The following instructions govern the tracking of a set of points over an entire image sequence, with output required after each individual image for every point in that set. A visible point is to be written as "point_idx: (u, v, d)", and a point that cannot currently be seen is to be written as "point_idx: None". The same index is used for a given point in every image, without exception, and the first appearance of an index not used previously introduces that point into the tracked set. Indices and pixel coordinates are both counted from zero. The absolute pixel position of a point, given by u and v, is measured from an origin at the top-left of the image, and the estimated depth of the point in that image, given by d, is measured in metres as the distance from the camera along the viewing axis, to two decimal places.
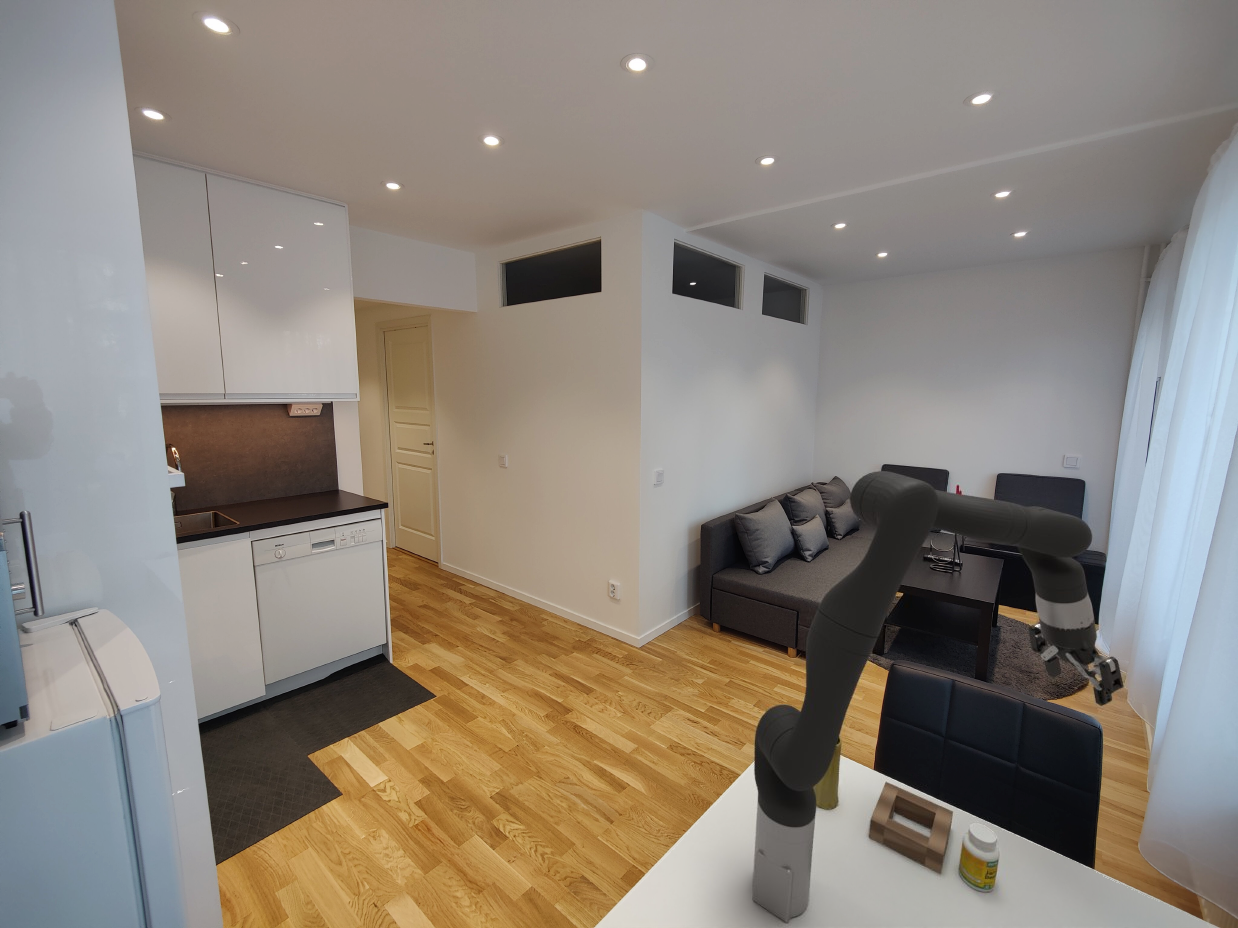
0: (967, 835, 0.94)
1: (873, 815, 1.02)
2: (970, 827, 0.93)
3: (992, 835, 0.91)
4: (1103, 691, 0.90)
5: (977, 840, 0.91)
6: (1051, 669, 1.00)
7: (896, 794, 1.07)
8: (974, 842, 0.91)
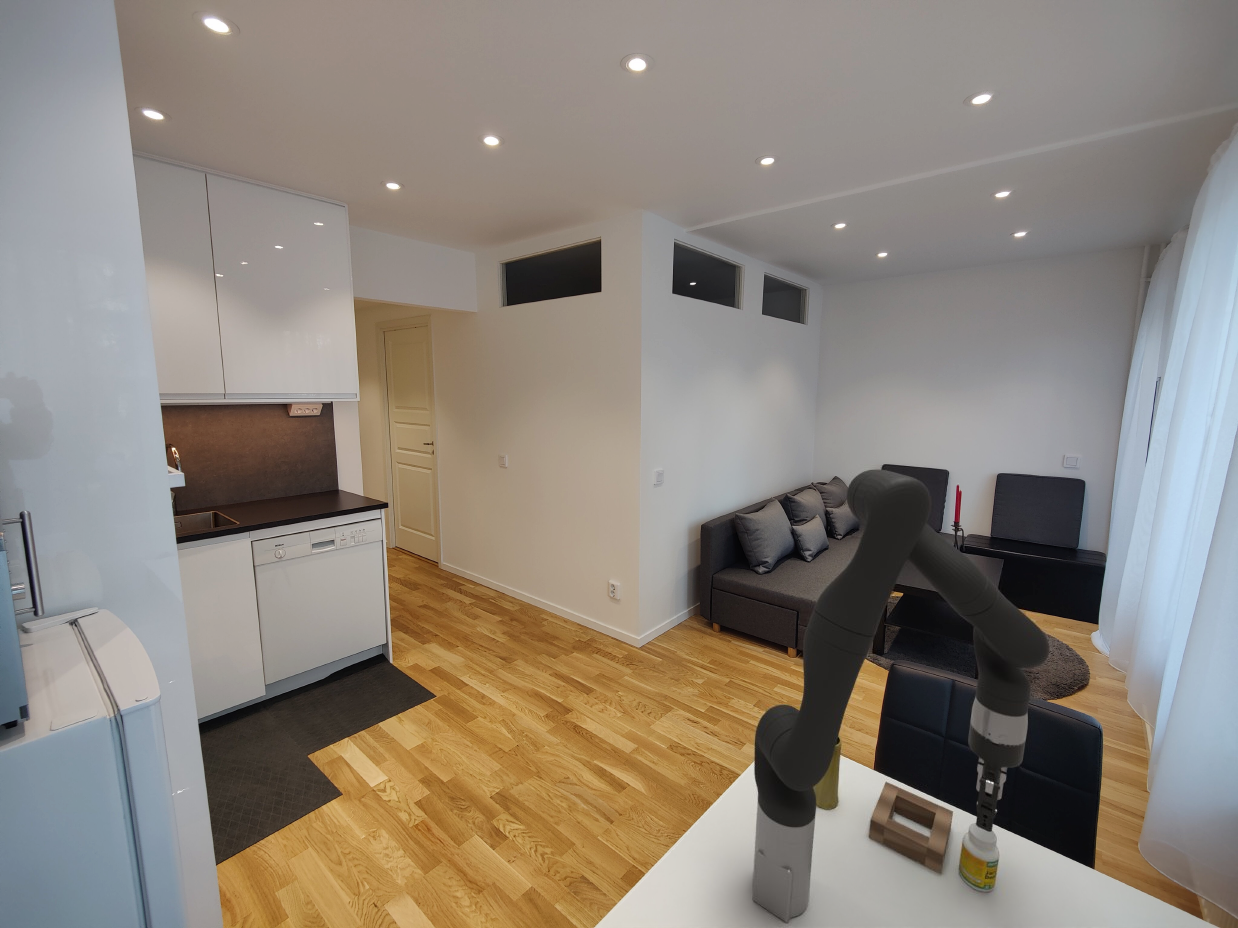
0: (967, 835, 0.94)
1: (873, 815, 1.02)
2: (970, 827, 0.93)
3: (992, 835, 0.91)
4: None
5: (977, 840, 0.91)
6: None
7: (896, 794, 1.07)
8: (974, 842, 0.91)
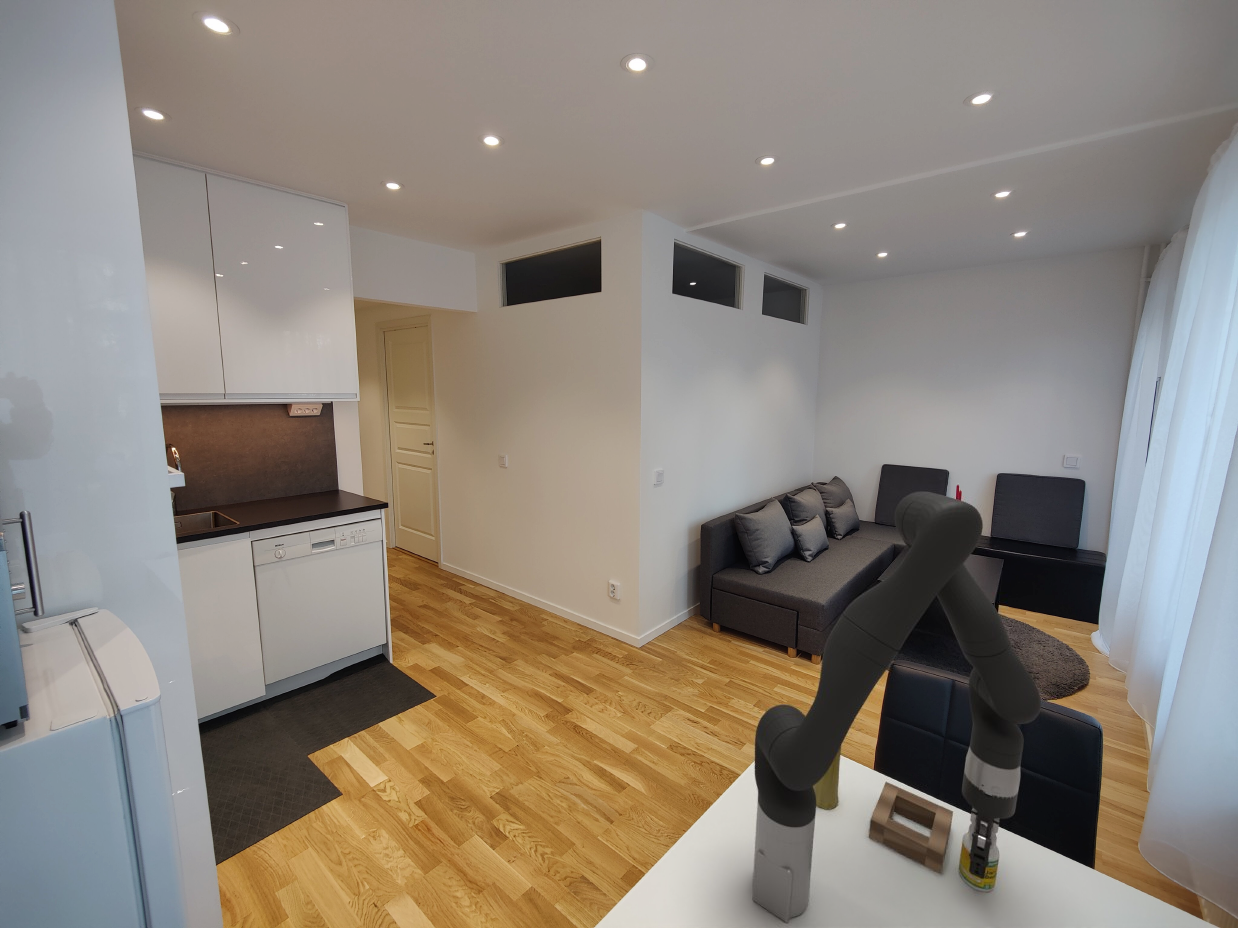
0: (967, 835, 0.94)
1: (873, 815, 1.02)
2: (970, 827, 0.93)
3: None
4: None
5: None
6: None
7: (896, 794, 1.07)
8: None
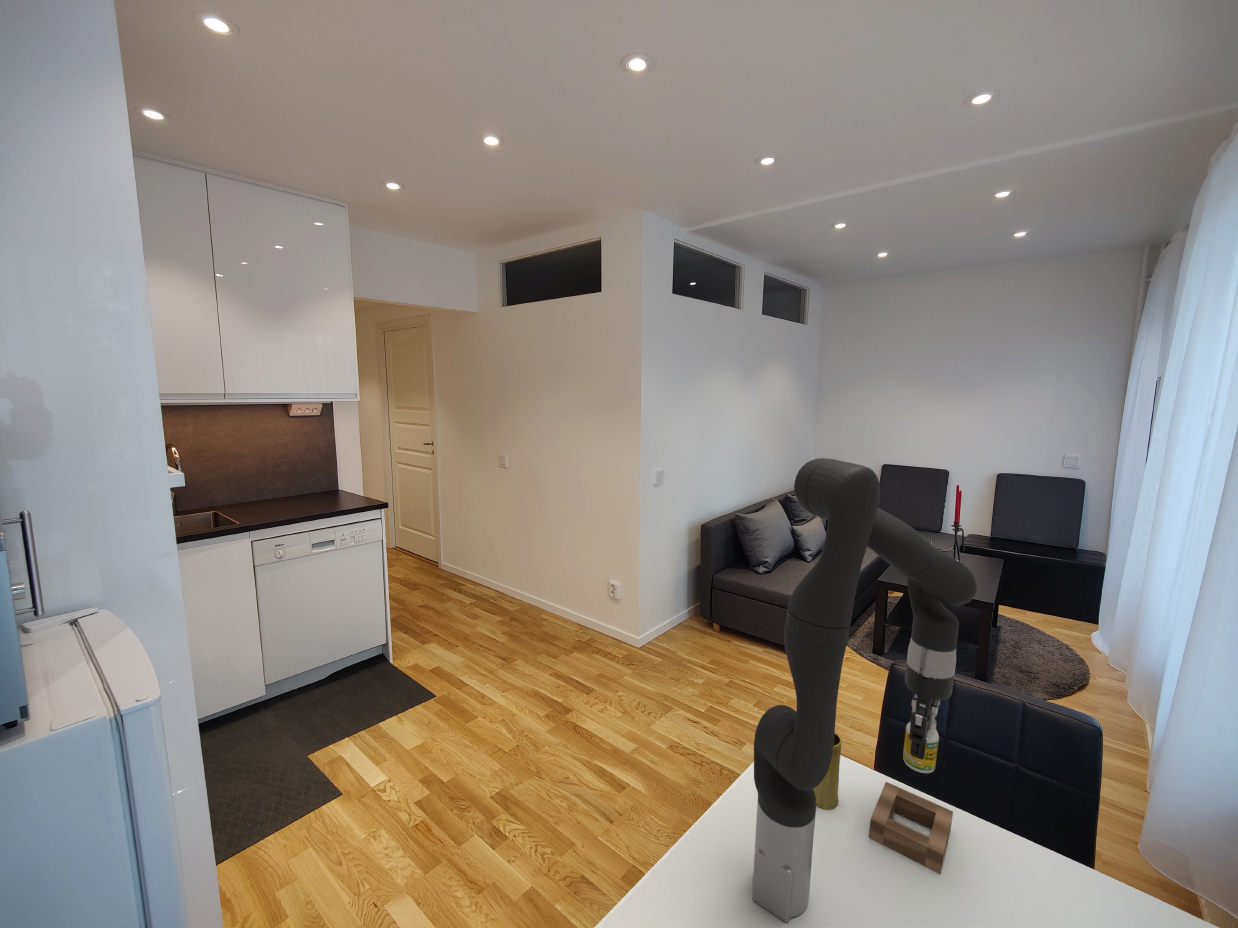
0: None
1: (873, 815, 1.02)
2: None
3: None
4: (914, 740, 0.96)
5: None
6: None
7: (896, 794, 1.07)
8: None
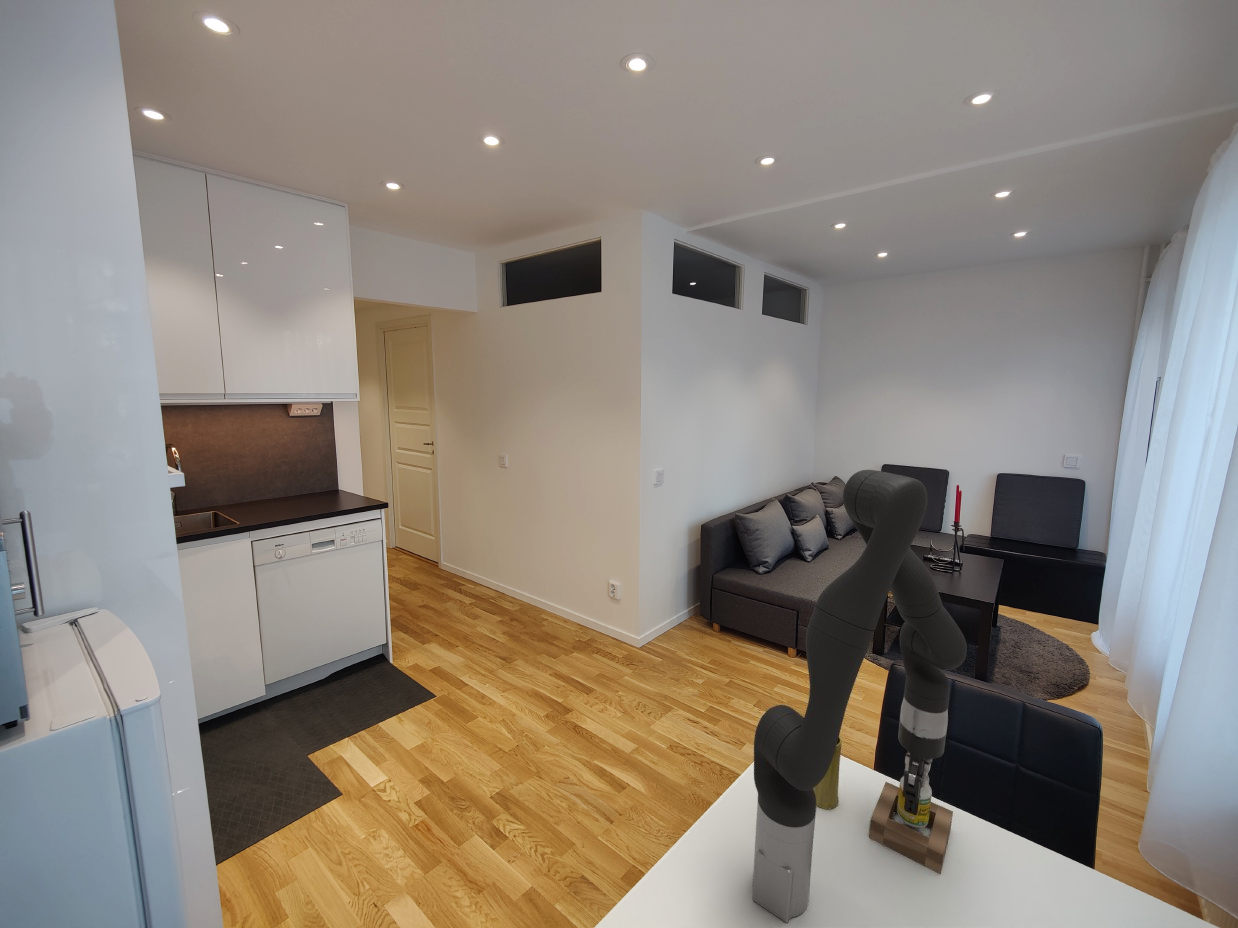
0: None
1: (873, 815, 1.02)
2: None
3: None
4: None
5: None
6: None
7: (896, 794, 1.07)
8: None
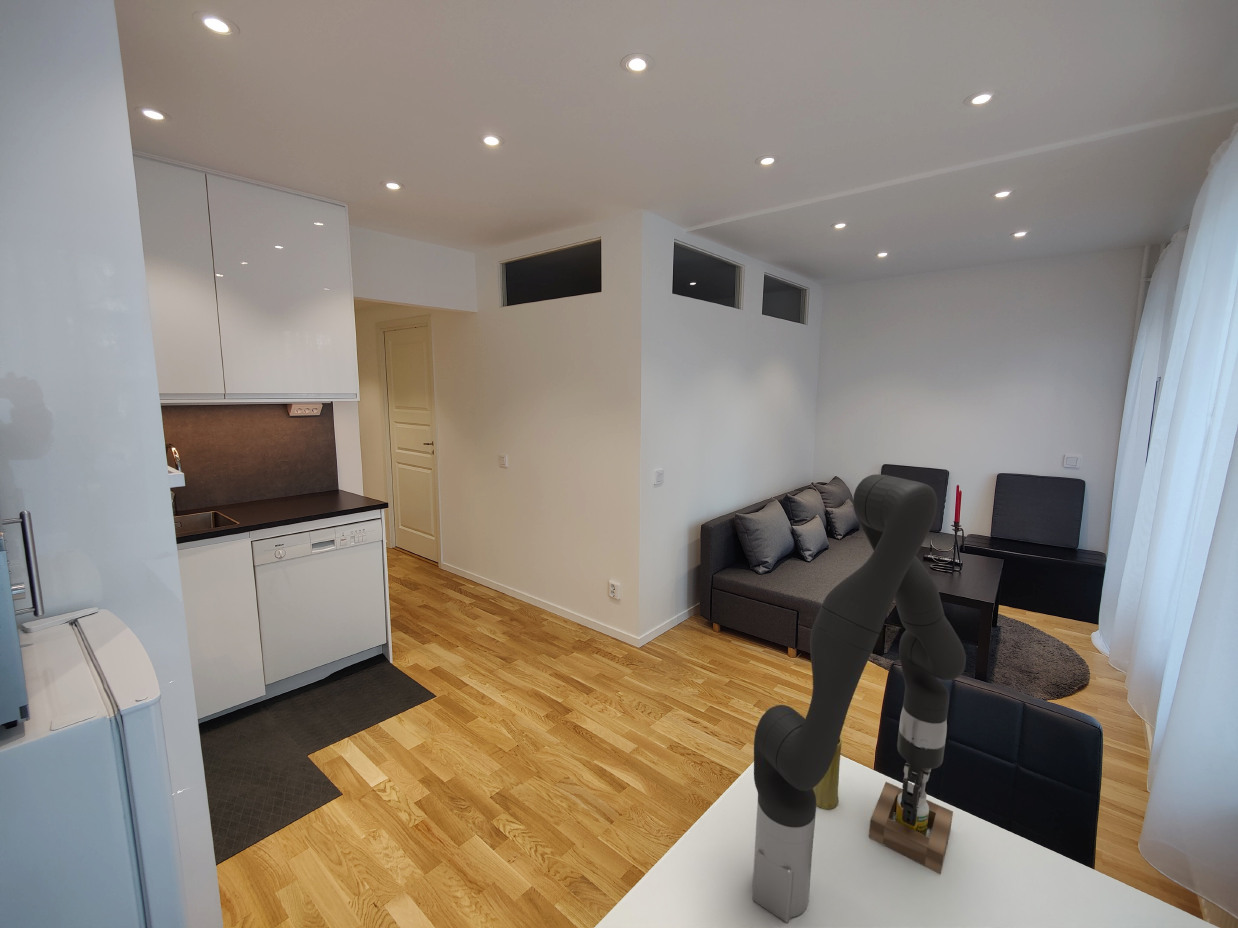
0: (901, 794, 1.03)
1: (873, 815, 1.02)
2: None
3: None
4: None
5: None
6: None
7: (896, 794, 1.07)
8: None
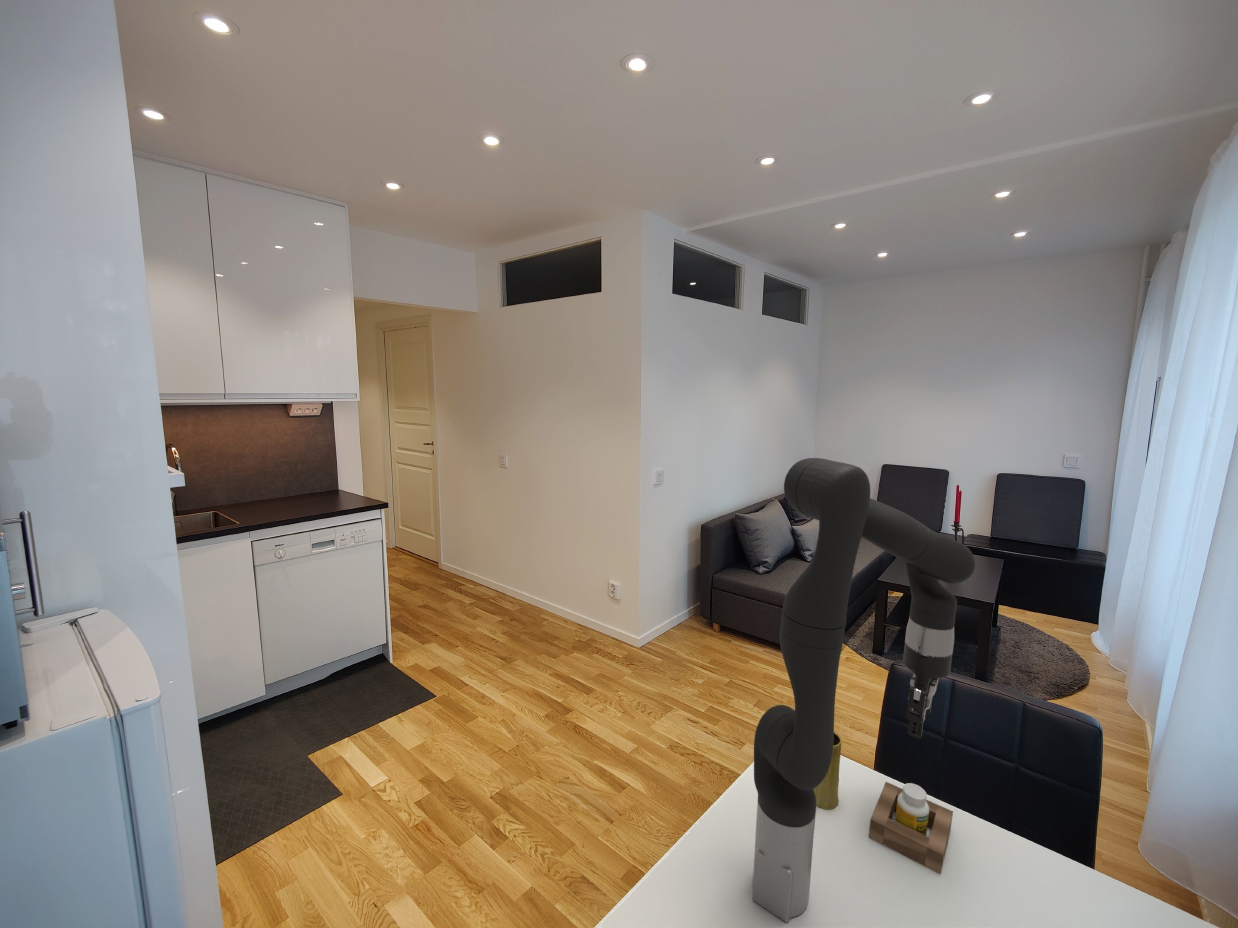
0: (901, 794, 1.02)
1: (873, 815, 1.02)
2: (904, 786, 1.02)
3: (923, 793, 1.00)
4: (911, 719, 0.95)
5: (909, 798, 1.00)
6: None
7: (896, 794, 1.07)
8: (906, 799, 1.00)
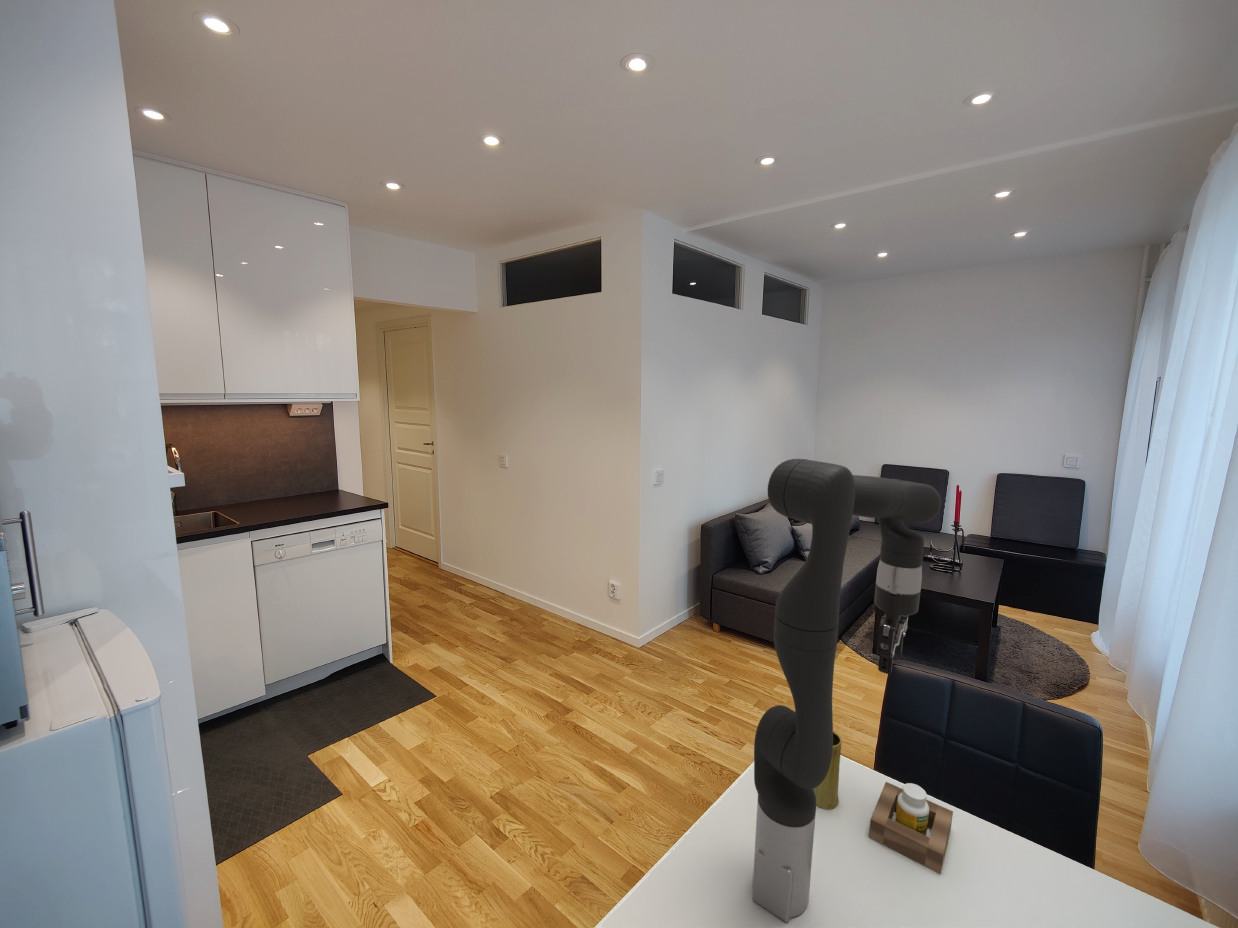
0: (901, 794, 1.02)
1: (873, 815, 1.02)
2: (904, 786, 1.02)
3: (923, 793, 1.00)
4: (881, 655, 0.99)
5: (909, 798, 1.00)
6: None
7: (896, 794, 1.07)
8: (906, 799, 1.00)
